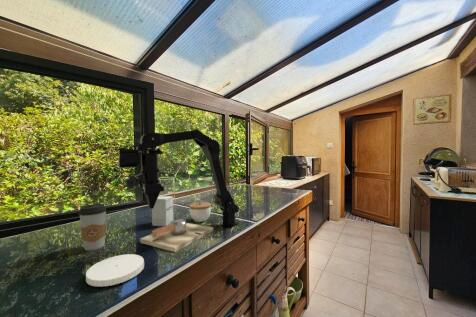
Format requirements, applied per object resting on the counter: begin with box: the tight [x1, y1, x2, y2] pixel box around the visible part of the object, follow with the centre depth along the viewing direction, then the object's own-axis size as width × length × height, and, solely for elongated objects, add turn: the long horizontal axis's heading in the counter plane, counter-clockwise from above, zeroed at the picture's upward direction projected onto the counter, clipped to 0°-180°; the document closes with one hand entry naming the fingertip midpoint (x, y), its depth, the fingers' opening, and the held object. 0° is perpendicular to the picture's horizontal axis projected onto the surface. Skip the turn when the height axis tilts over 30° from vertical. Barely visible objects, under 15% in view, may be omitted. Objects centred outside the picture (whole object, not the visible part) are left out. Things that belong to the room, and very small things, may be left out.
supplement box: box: [151, 195, 174, 227], centre depth 103 cm, size 7×7×13 cm
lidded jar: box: [188, 200, 212, 223], centre depth 108 cm, size 11×11×9 cm
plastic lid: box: [85, 253, 145, 288], centre depth 60 cm, size 14×14×2 cm
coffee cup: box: [78, 203, 107, 252], centre depth 78 cm, size 8×8×15 cm
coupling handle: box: [151, 218, 187, 237], centre depth 82 cm, size 15×6×4 cm, turn 151°
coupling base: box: [139, 222, 214, 253], centre depth 86 cm, size 22×18×2 cm
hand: (151, 208), depth 81 cm, fingers closed
